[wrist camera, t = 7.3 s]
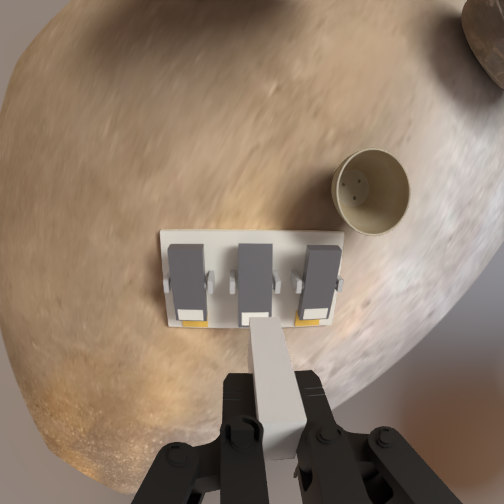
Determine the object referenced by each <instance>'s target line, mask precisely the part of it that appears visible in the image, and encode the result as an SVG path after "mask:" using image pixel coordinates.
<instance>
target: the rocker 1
mask: <svg viewBox="0 0 504 504" xmlns="http://www.w3.org/2000/svg"><path fill="white" fill-rule="evenodd" d="M167 252H168V262H169V271H170V279H171V282H170V287H171V288H172V295H173V302H174V309H175V315H176V320H178V321H207V315H208V311H207V296H206V289H207V281H206V279H205V259H204V244H170V245H169V247H168V249H167Z"/></svg>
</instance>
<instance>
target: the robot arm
mask: <svg viewBox="0 0 504 504" xmlns="http://www.w3.org/2000/svg"><path fill="white" fill-rule="evenodd" d="M248 372H249V373H229V374H228V375H227V377H226V378H225V380H224V381H223V411H222V424H221V428H220V435H219V437H218V438H217V439H216V440H214V441H213V442H211V443H208V444H205V445H200V446H195V447H192V446H191V445H188V444H186V443H182V442H173V443H169V444H167V445H165V446H163V447H162V448H161V450H160V451H159V452H158V454H157V456H156V458H155V460H154V462H153V463H152V465H151V467H150V469H149V471H148V473H147V475H146V477H145V478H144V480H143V482H142V484H141V486H140V488H139V490H138V491H137V493H136V495H135V497H134V499H133V501H132V503H131V504H201V503H202V500H203V497H204V495H205V493H206V492H211V491H215V490H219V489H220V504H269V498H268V489H267V481H266V472H265V463H264V461H267V460H268V461H269V460H282V459H294V458H295V455H296V453H297V457H298V465H297V467H296V469H295V472H294V478H296V477H297V475H298V480H299V486H300V490H301V496H302V502H303V504H462V503H461V501H460V500H459V499H458V498H457V497H456V496H455V495H454V494H453V493H452V492H451V491H450V489H449V488H448V487H447V486H446V485H445V484H444V483H443V481H442V480H441V479H440V478H439V477H438V476H437V475H436V474H435V473H434V471H433V470H432V469H431V468H430V467H429V466H428V465H427V464H426V462H424V460H423V459H422V458H421V457H420V456H419V455H418V454H417V452H416V451H415V450H414V449H413V448H412V447H411V446H410V444H409V443H408V442H407V441H406V440H405V439H404V438H403V437H402V435H401V434H400V433H399V432H398V431H396V430H395V429H394V428H391V427H384V426H382V427H378V428H375V429H374V430H373V431H372V432H371V433H370V434H358V433H351V432H347V431H345V430H343V428H342V427H340V426H339V425H337V424H336V422H335V420H334V417H333V414H332V412H331V409H330V406H329V403H328V400H327V398H326V395H325V392H324V389H323V388H322V384H321V381H320V378H319V377H318V376H317V375H316V374H315V373H314V372H313V371H312V370H306V371H294V369H293V366H292V362H291V358H290V355H289V351H288V347H287V344H286V340H285V336H284V333H283V329H282V325H281V322H280V318H279V317H249V336H248Z"/></svg>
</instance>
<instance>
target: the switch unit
mask: <svg viewBox="0 0 504 504" xmlns="http://www.w3.org/2000/svg"><path fill="white" fill-rule="evenodd" d="M160 242H161V257H162V270H163V286H164V293H165V300H166V309H167V317H168V325H169V327H193V328H249V327H238V289H237V281H238V243H255V244H273V267H272V281H273V284H274V287H273V289H272V317H279V318H280V322H281V325H282V327H303V326H321V325H332V321H333V315H334V309H335V303H336V297H337V292H342V287H343V281H344V280H343V279H342V278H341V277H340V268H341V261H342V255H341V260H340V266H339V271H338V276H337V281H336V287H335V291H334V296H333V300H332V305H331V309H330V314H329V318H328V319H316V320H299V317H298V314H297V312H298V305H299V299H300V293H301V289H302V277H303V270H304V262H305V254H306V246H307V245H338V246H339V247H340V248H341V250H342V252H343V243H344V232H342V231H317V230H267V229H161V230H160ZM170 244H204V259H205V279H206V281H207V289H206V296H207V311H208V315H207V321H178V320H176V315H175V309H174V302H173V295H172V288H171V287H170V282H171V279H170V271H169V262H168V252H167V249H168V247H169V245H170Z"/></svg>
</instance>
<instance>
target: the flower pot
mask: <svg viewBox="0 0 504 504" xmlns="http://www.w3.org/2000/svg"><path fill="white" fill-rule="evenodd" d="M358 180H359V181H358ZM342 185H344V186H342ZM331 193H332V199H333V202H334V205H335V207H336V209H337V211H338V213H339V215H340V216H341V217H342V219H343V220H344V221H345V222H346V223H347V224H348V225H349V226H350V227H351V228H352V229H354V230H355V231H357V232H359V233H361V234H363V235H367V236H379V235H383V234H386V233H388V232H390V231H391V230H393V229H394V228H395V227H396V226H397V225H398V224H399V223H400V222H401V221H402V219H403V218H404V216H405V214H406V212H407V209H408V206H409V202H410V195H411V188H410V182H409V178H408V175H407V173H406V170H405V168H404V167H403V165H402V164H401V162H400V161H399V160H398V159H397V158H396V157H395V156H394V155H392V154H391V153H389V152H387V151H385V150H382V149H378V148H368V149H363V150H360V151H358V152H356V153H354V154H352V155H351V156H349V157H348V158H346V159H345V160H344V161H343V162H342V163H341V164H340V166H339V167H338V168H337V170H336V172H335V174H334V176H333V180H332V185H331ZM355 197H356V199H355Z"/></svg>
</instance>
